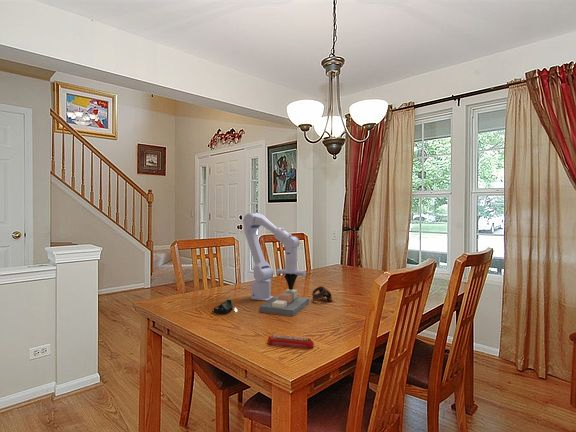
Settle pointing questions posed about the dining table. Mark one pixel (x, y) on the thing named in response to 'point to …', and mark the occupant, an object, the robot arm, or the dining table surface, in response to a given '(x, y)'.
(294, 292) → the sage key
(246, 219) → the robot arm
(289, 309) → the grey rectangular frame
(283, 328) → the dining table surface
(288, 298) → the terracotta key
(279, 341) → the candy bar
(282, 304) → the cream key
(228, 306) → the black lumpy piece
